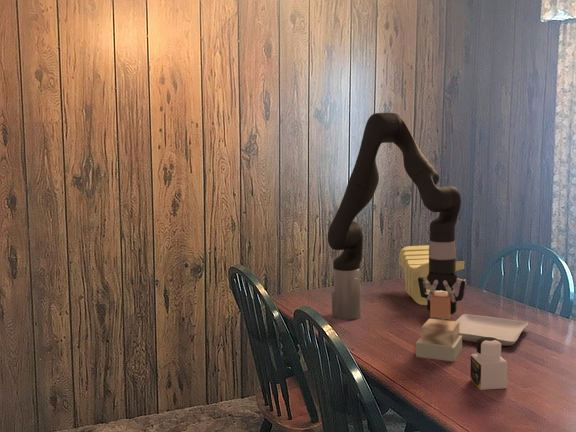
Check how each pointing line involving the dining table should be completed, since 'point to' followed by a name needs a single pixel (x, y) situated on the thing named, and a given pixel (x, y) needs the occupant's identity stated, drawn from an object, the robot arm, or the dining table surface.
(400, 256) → the slatted curved stool
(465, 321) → the salad plate
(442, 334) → the top block
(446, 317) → the cube
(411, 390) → the dining table surface
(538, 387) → the dining table surface
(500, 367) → the medicine bottle
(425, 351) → the base block
